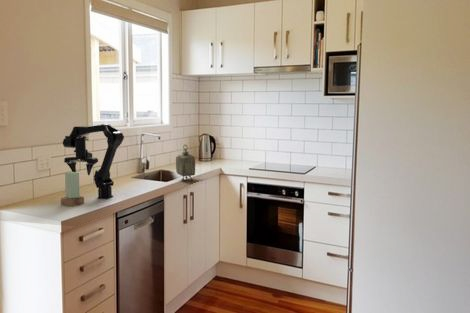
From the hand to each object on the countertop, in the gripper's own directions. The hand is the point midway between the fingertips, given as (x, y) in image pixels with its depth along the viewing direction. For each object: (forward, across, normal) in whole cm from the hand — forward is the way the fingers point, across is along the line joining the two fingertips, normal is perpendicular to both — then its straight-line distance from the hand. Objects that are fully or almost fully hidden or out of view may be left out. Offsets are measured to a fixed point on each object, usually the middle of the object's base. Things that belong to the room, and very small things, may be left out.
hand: (81, 174), depth 229 cm
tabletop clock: (+12, -41, -58) cm, 72 cm away
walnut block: (+12, -8, +20) cm, 25 cm away
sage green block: (+8, -8, +20) cm, 23 cm away
